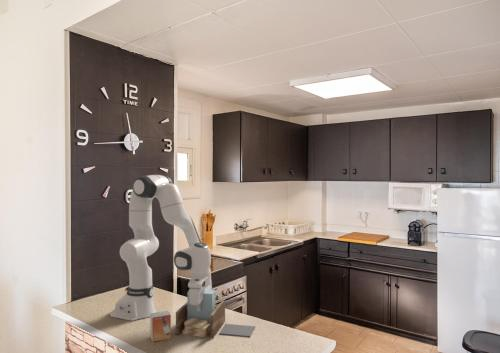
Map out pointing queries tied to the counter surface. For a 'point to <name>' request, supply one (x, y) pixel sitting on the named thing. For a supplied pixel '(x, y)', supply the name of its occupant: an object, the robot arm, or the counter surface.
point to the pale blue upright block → (206, 305)
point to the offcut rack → (215, 318)
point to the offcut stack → (196, 327)
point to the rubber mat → (237, 330)
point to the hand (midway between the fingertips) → (201, 308)
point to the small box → (160, 326)
